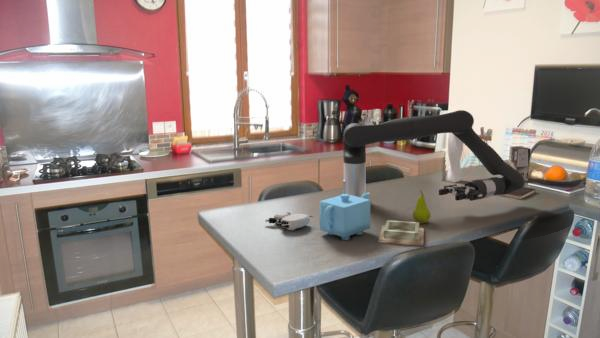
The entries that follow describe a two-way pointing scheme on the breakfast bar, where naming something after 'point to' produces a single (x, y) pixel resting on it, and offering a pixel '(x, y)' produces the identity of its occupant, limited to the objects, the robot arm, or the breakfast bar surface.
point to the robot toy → (290, 220)
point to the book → (520, 193)
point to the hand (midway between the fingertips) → (447, 195)
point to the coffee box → (520, 160)
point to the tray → (402, 233)
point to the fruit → (421, 211)
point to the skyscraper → (453, 160)
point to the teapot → (345, 215)
